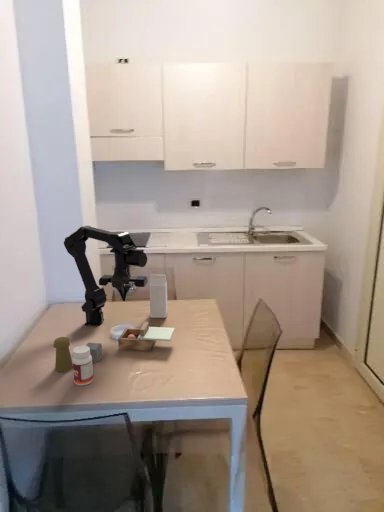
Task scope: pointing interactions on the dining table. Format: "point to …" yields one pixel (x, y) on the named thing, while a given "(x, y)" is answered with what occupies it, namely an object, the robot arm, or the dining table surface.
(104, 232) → the robot arm
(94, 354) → the cube
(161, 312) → the milk carton
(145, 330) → the lid
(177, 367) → the dining table surface
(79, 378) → the pill bottle
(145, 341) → the box
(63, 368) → the pepper shaker
